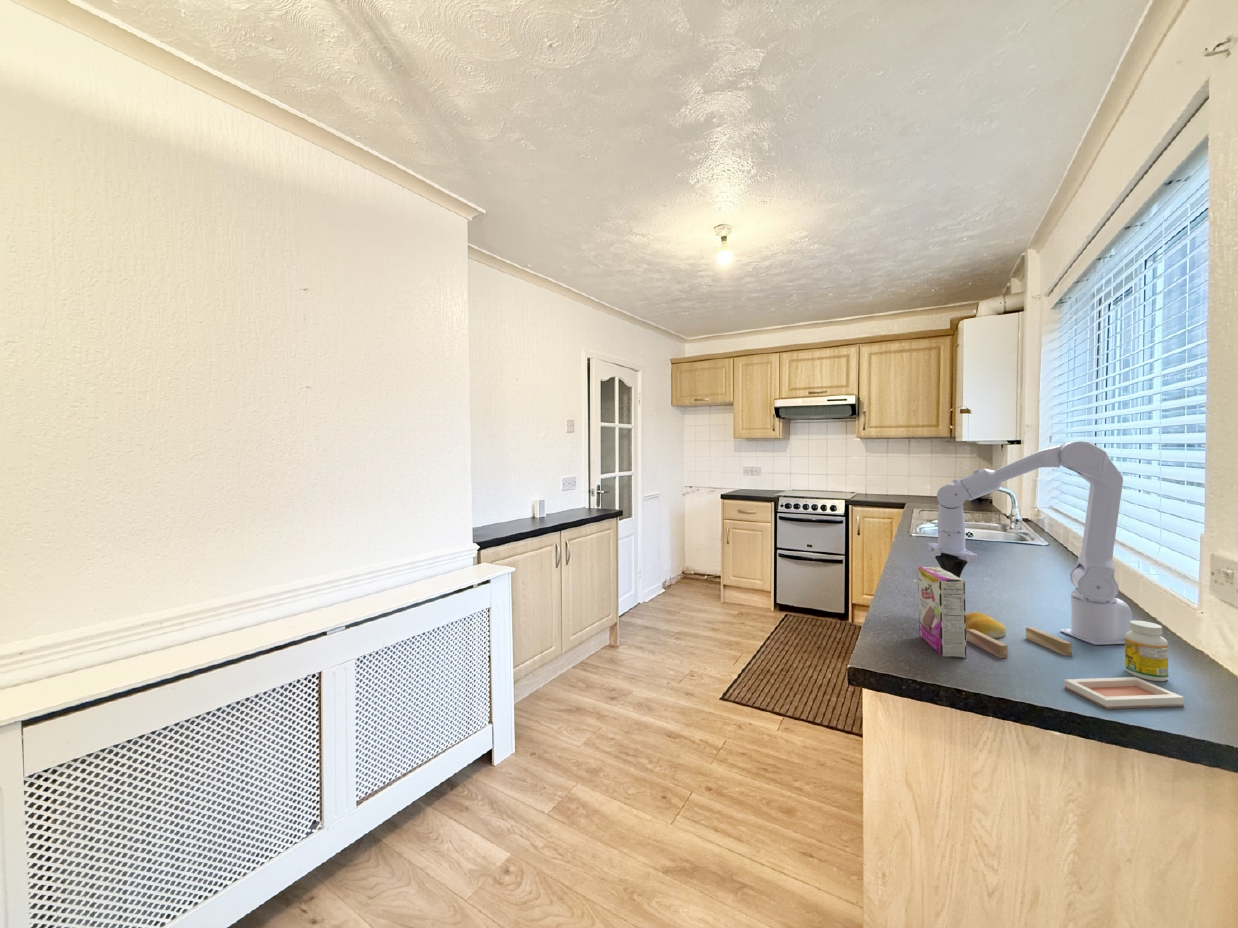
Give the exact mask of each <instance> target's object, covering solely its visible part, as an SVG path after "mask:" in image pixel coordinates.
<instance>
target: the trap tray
mask: <svg viewBox="0 0 1238 928" xmlns="http://www.w3.org/2000/svg"><path fill="white" fill-rule="evenodd" d="M1064 689H1066V690H1068V691H1070V692H1072V693H1074V694H1075V695H1078V696H1080V697H1082V698H1084V699H1086V700H1088V701H1089V700H1090V701H1089V702H1091V703H1094V704H1095V705H1097V706H1099V707H1101V708H1103V709H1105V710H1117V709H1119V710H1120V709H1122V710H1123V709H1143V708H1147V709H1149V708H1169V707H1170V708H1173V707H1175V708H1176V707H1185V697H1184V696H1182V695H1179V694H1177V693H1175V692H1172V691H1170V690H1168V689H1166V688H1163V687H1161V686H1159V685H1156V684H1154V683H1152V682H1148V681H1147V680H1145V679H1144V680H1143V678H1140V677H1137V676H1127V677H1125V676H1124V677H1123V676H1122V677H1099V678H1097V677H1096V678H1071V679H1067V678H1066V679H1064Z"/></svg>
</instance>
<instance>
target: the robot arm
mask: <svg viewBox="0 0 1238 928" xmlns="http://www.w3.org/2000/svg"><path fill="white" fill-rule="evenodd" d="M1061 467H1063V468H1065V469H1067V470H1070V471H1072V472H1075V473H1076V474H1077V475H1078V476H1079V477H1081V478H1082V479H1083V480H1085V481H1086V482H1087V483H1089V492H1088V500H1087V506H1086V507H1087V508H1086V513H1085V514H1086V515H1085V522H1084V528H1083V529H1084V531H1083V537H1082V538H1083V539H1082V544H1081V552H1080V554H1079V556H1078V558H1077V563H1076V564H1075V567H1073V569H1072V570H1071V571H1070V573H1069V574H1070V575H1069V578H1070V581H1071V584H1073V586H1075V588H1074V590H1073V591H1072V592H1070V623H1071V624H1070V625H1071V627H1070V628H1061V629H1059V631H1060V632H1061V633H1064V634H1066V635H1069V636H1071V637H1074V638H1077V639H1078V640H1081V641H1084V642H1086V643H1089V644H1092V645H1095V646H1098V645H1100V646H1101V645H1103V646H1104V645H1125V634H1126V633H1127V632H1129V631H1132V630H1131V629H1130V621H1132V620H1133V614H1132V611H1131V608H1130V606H1129V604H1128V603H1126V602H1125V600H1124V601H1123V599H1120V598H1119V597H1117V596H1118V594H1119V590H1120V589H1119V585H1118V584H1119V583H1118V582H1117V580H1116V578H1115V571H1116V570H1115V565H1114V559H1113V558H1114V550H1115V543H1116V533H1117V529H1118V528H1117V526H1118V520H1119V513H1120V507H1121V498H1122V492H1123V482H1124V478H1123V475H1122V474H1121V472H1120V471H1119V470H1118V468H1117V467H1116V466H1115V464H1114V463H1113V461H1111V459H1110V457H1109V456H1108V452H1107V451H1105V450H1103V449H1101V448H1100V447H1099V446H1097V445H1095V444H1094V443H1091V442H1089V441H1084V440H1078V441H1077V440H1076V441H1074V440H1073V441H1066V442H1063V443H1061V444H1060V445H1055V446H1050V447H1048V448H1043V449H1040V450H1037V451H1035V452H1033V453H1031V454H1028V455H1026V456H1024V457H1021V458H1020V459H1017V460H1015V461H1013V462H1011V463H1008V464H1007V465H1004V466H1002V467H999V468H997V469H995V470H993V469H988V468H983V469H979V468H976V469H974V470H972V472H973V473H971V474H968V475H966V476H964V477H961V478H960V479H957V478H954V479H952V480H951V481H952V483H948V484H945V485H942V486H941V487H939V489H938V491H937V493H936V499H937V501H938V505H937V511H938V512H937V519H936V520H937V542H935V543H934V542H933V543H931V542H928V543H927V544H928V549H927V551H930V552H935V553H940V554H939V555H935V556H934V557H935V558H934V559H935V560H936V561H937V563H938V564H939V566H940V567H941V568H943V569H944V570H946V571H948V572H950V573H952V574H954V575H955V576H957V577H959V578H961V575H962V572H963V570H964V568H965V567H966V565H967V564H968V563H978V556H979V555H978V553H974V552H973V551H970V550H968V549H966V514H965V513H964V503H965V502H966V501H974V500H975V499H978V498H981V497H982V496H985V495H988V494H990V493H993V492H996V491H999V489H1000V488H1001V485H1002V483H1003V482H1006V481H1009V480H1012V479H1014V478H1016V477H1019V476H1022V475H1024V474H1028V473H1029V472H1033V471H1035V470H1038V469H1041V468H1061Z"/></svg>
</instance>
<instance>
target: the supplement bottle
mask: <svg viewBox="0 0 1238 928" xmlns="http://www.w3.org/2000/svg"><path fill="white" fill-rule="evenodd" d="M1130 629H1131V630H1132V631H1129V632H1127V633H1126V634H1125V644H1124V668H1125V671H1126V672H1127V673H1129V674H1131V675H1132V676H1133V677H1137V678H1139V679H1142V680H1143V679H1144V680H1146V681H1147V680H1149V681H1152V682H1153V681H1154V682H1166V681H1168V680H1169V643H1168V640H1167V639H1166V638H1164V637H1163V636H1162V635H1163V626H1162V625H1160V624H1157V623H1154V622H1150V621H1145V620H1133V619H1132V621H1130Z"/></svg>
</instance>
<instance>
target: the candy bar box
mask: <svg viewBox="0 0 1238 928" xmlns="http://www.w3.org/2000/svg"><path fill="white" fill-rule="evenodd" d="M917 580H918V581H917V583H918V584H917V585H918V616H919V617H918V622H919V623H918V625H919V637H920V639H922V640H923V641H925V643H926V644H928V645H929V647H931V648H932V649H933V650H934V651H935V652H936V653H938V654H939V656H940V657H943V658H954V659H955V658H956V659H957V658H958V659H967V631H966V614H967V612H966V580H965V579H962V578H961V577H960V578H959V577H957V576H955V575H954V574H952V573H950V572H948V571H946V570H944V569H943V568H941V567H939V566H917Z"/></svg>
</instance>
